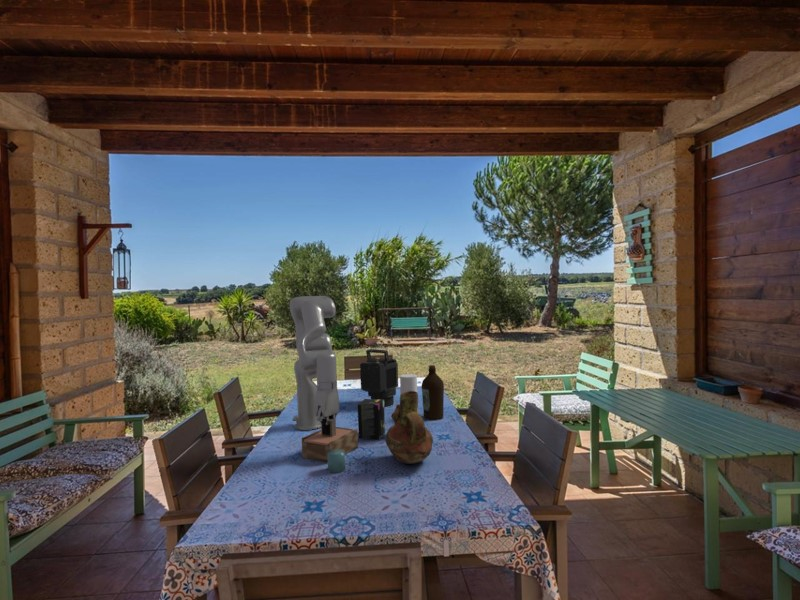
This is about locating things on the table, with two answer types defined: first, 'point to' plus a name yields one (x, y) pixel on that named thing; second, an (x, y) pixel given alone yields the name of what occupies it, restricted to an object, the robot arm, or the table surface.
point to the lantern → (379, 377)
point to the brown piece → (325, 439)
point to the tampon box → (371, 419)
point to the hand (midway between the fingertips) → (328, 432)
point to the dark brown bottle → (433, 395)
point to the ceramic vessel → (408, 431)
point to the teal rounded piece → (336, 461)
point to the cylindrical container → (408, 383)
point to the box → (330, 446)
